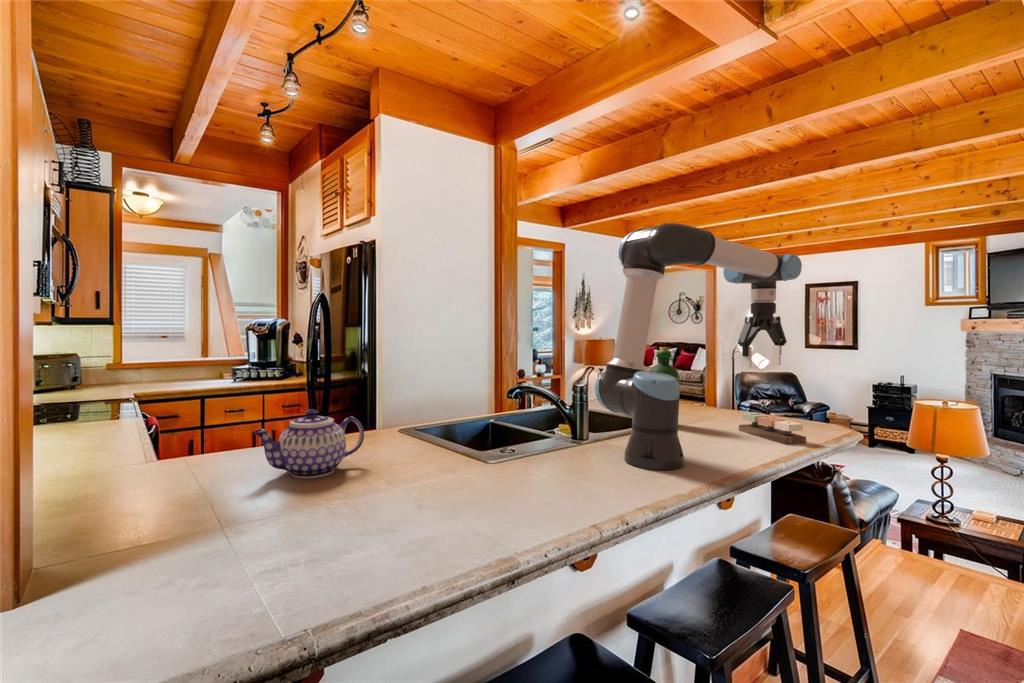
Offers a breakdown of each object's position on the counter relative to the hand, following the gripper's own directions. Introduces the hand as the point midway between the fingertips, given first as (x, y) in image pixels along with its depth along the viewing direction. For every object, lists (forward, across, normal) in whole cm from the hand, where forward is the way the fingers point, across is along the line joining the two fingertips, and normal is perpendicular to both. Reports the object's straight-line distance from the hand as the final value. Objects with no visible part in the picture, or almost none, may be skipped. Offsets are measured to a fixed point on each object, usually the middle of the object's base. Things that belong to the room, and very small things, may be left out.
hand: (761, 365), depth 168 cm
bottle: (+23, -22, +23) cm, 39 cm away
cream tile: (+21, -1, -11) cm, 24 cm away
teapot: (+20, -140, +7) cm, 142 cm away
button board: (+23, 0, -4) cm, 23 cm away
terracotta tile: (+21, 0, -4) cm, 21 cm away
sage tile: (+21, 0, +3) cm, 21 cm away
